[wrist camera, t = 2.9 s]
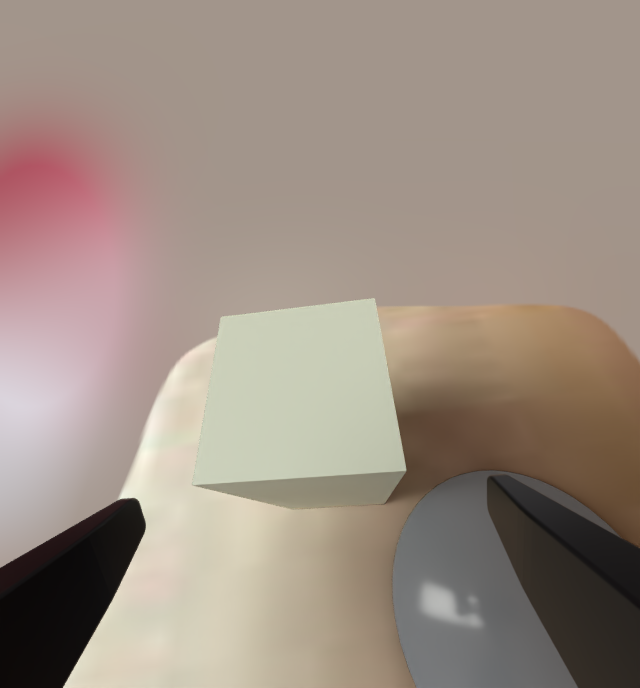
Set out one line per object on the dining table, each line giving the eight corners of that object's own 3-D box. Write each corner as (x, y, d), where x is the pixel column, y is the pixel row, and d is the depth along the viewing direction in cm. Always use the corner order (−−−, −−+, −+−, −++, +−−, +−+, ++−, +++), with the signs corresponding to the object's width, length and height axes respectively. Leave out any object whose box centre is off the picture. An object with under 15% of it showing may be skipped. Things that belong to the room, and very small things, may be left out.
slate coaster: (751, 883, 9) (773, 904, 9) (385, 757, 11) (386, 767, 11) (624, 490, 15) (634, 489, 14) (396, 458, 17) (396, 455, 16)
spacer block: (384, 504, 16) (406, 470, 7) (292, 509, 16) (191, 485, 7) (371, 413, 18) (374, 298, 9) (292, 420, 19) (220, 317, 10)
